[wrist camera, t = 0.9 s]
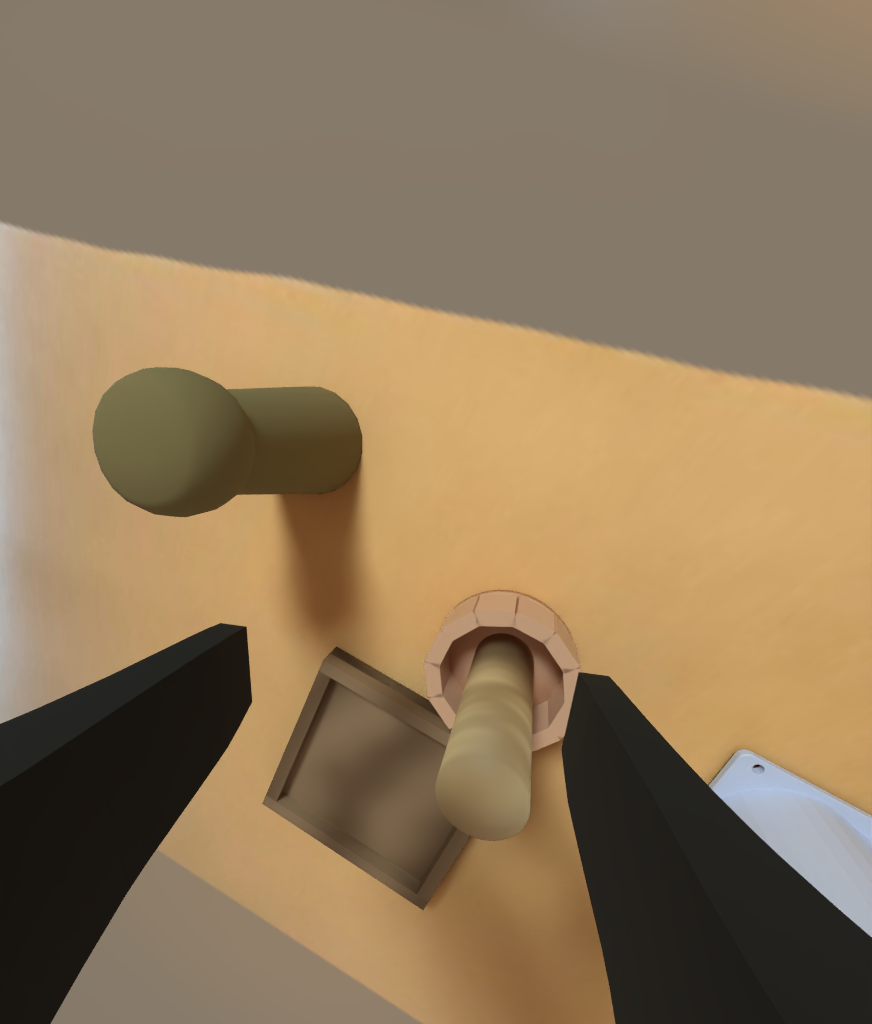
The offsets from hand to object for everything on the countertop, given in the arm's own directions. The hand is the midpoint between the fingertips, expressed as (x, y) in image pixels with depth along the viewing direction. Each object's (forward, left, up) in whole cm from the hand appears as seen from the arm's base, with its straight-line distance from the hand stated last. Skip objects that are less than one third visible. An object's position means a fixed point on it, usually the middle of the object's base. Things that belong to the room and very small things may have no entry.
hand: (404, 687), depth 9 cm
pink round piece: (-4, +6, -14) cm, 15 cm away
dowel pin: (-4, +6, -13) cm, 15 cm away
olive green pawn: (+11, 0, -14) cm, 18 cm away
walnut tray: (-1, +17, -14) cm, 22 cm away
